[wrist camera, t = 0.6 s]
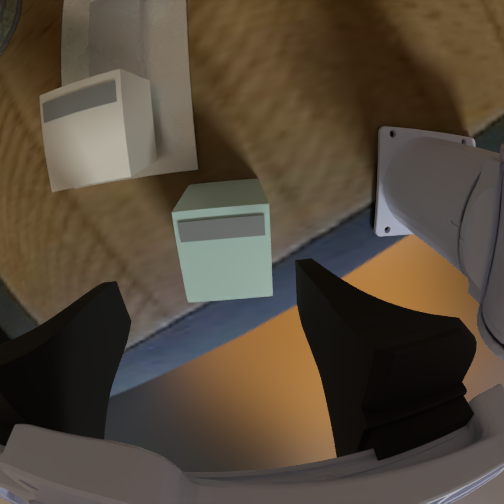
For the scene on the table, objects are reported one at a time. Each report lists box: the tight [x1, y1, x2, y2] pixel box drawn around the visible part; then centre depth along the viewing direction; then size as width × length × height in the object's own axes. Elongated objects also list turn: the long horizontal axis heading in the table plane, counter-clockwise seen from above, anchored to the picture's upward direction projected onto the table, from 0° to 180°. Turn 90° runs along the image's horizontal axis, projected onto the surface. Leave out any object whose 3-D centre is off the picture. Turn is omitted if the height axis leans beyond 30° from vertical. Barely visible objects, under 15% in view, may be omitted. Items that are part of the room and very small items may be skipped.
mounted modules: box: [39, 0, 158, 192], centre depth 11 cm, size 4×17×5 cm, turn 4°
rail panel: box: [61, 0, 199, 189], centre depth 14 cm, size 9×19×1 cm, turn 4°
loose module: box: [172, 179, 273, 302], centre depth 17 cm, size 4×5×6 cm
